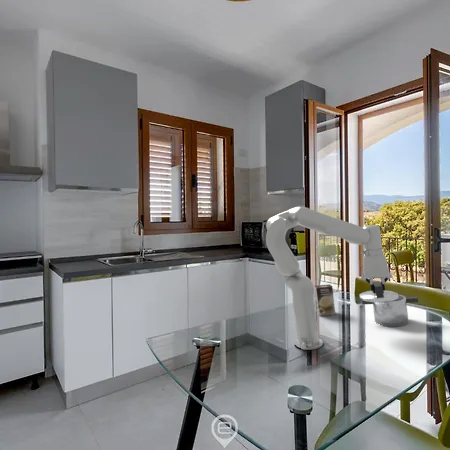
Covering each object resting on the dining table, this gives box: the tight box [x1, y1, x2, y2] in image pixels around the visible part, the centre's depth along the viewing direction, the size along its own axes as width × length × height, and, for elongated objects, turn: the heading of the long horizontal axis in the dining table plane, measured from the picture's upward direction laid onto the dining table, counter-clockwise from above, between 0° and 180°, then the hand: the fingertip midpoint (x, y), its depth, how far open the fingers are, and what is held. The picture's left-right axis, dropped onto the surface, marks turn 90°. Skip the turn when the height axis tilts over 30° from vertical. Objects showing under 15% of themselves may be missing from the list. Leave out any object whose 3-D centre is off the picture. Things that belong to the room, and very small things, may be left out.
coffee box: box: [314, 284, 336, 317], centre depth 185 cm, size 9×6×16 cm
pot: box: [361, 294, 419, 328], centre depth 161 cm, size 25×15×12 cm, turn 73°
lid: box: [359, 280, 399, 303], centre depth 148 cm, size 16×16×6 cm
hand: (378, 292), depth 148 cm, fingers closed on lid, 3 cm apart
